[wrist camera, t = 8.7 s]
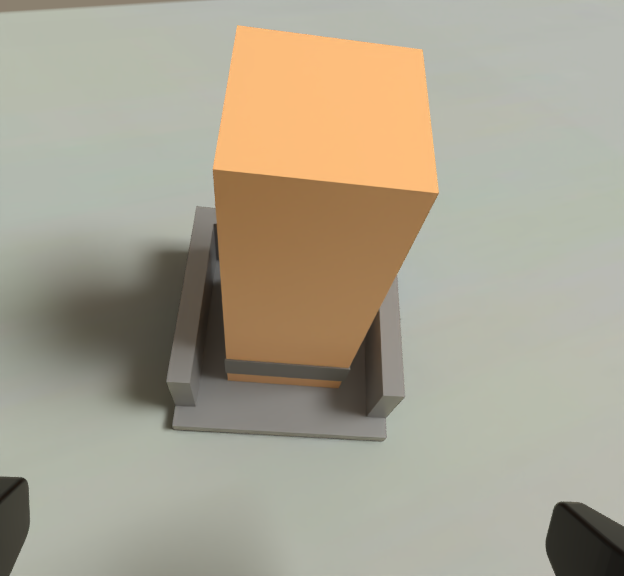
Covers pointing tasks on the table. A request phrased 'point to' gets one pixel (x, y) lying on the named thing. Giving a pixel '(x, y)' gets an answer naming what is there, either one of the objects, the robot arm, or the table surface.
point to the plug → (316, 198)
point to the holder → (264, 396)
